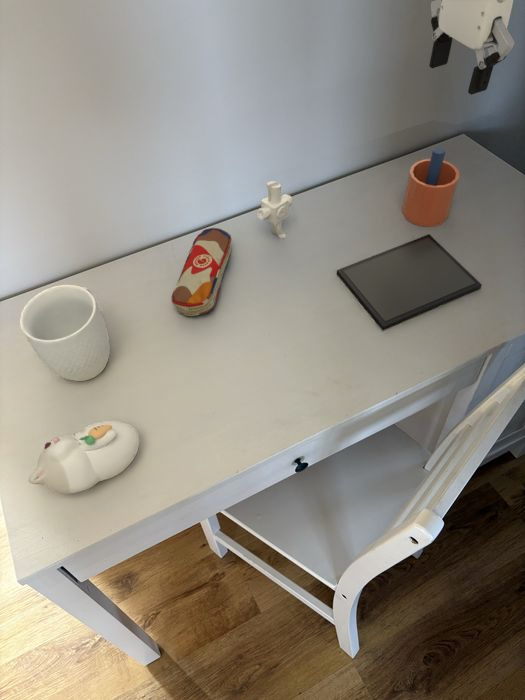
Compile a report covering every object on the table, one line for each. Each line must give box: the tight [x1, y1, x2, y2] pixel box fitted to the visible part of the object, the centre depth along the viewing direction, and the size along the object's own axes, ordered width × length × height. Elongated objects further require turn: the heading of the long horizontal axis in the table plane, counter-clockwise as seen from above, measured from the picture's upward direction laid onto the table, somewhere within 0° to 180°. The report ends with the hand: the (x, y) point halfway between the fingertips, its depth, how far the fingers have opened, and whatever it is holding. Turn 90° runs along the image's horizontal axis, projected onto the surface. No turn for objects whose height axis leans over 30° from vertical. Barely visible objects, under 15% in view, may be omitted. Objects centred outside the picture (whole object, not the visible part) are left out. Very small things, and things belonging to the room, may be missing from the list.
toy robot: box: [256, 180, 293, 239], centre depth 99 cm, size 4×8×12 cm, turn 133°
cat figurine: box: [28, 420, 140, 495], centre depth 73 cm, size 10×8×15 cm
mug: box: [19, 284, 111, 382], centre depth 83 cm, size 15×11×13 cm
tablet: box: [336, 233, 483, 331], centre depth 94 cm, size 20×15×1 cm
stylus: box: [425, 146, 446, 186], centre depth 100 cm, size 2×2×13 cm
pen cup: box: [402, 158, 460, 228], centre depth 102 cm, size 9×9×9 cm
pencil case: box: [170, 227, 232, 317], centre depth 96 cm, size 11×20×5 cm, turn 155°
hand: (456, 78), depth 85 cm, fingers open, 9 cm apart
